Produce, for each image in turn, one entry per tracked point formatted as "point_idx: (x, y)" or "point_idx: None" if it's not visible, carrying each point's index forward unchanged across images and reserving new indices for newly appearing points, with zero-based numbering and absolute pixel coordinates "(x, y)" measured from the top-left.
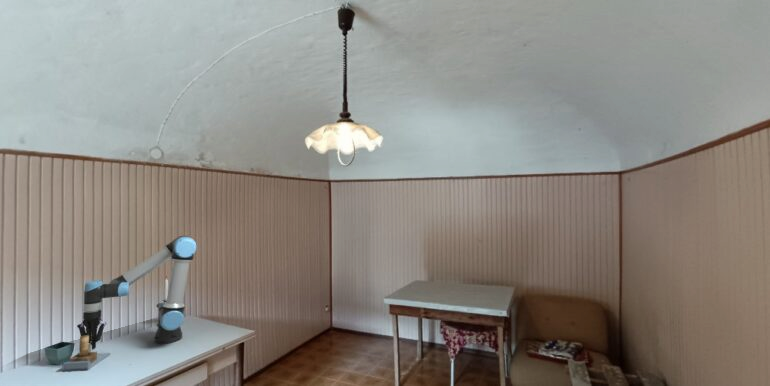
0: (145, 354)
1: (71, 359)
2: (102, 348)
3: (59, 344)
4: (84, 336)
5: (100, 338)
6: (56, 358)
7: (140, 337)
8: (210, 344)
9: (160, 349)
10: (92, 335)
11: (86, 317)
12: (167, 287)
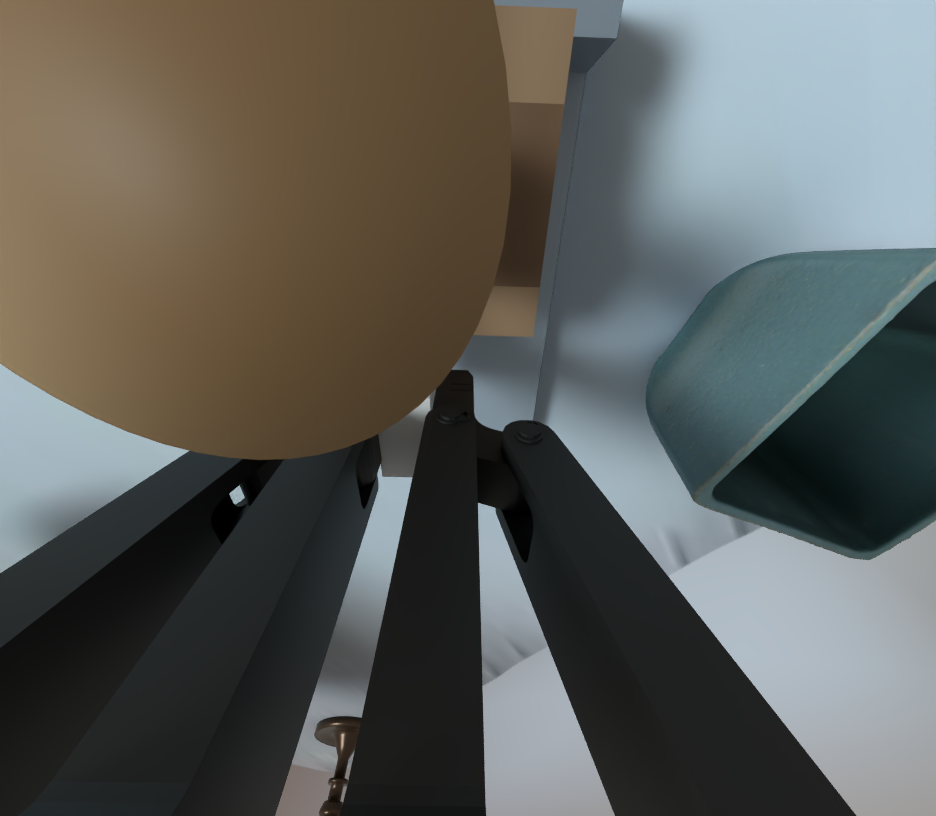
0: (34, 411)
1: (537, 17)
2: (491, 549)
3: (875, 515)
4: (92, 105)
5: (238, 512)
6: (793, 255)
7: (360, 646)
8: None
9: (19, 487)
10: (275, 544)
11: None
12: None
